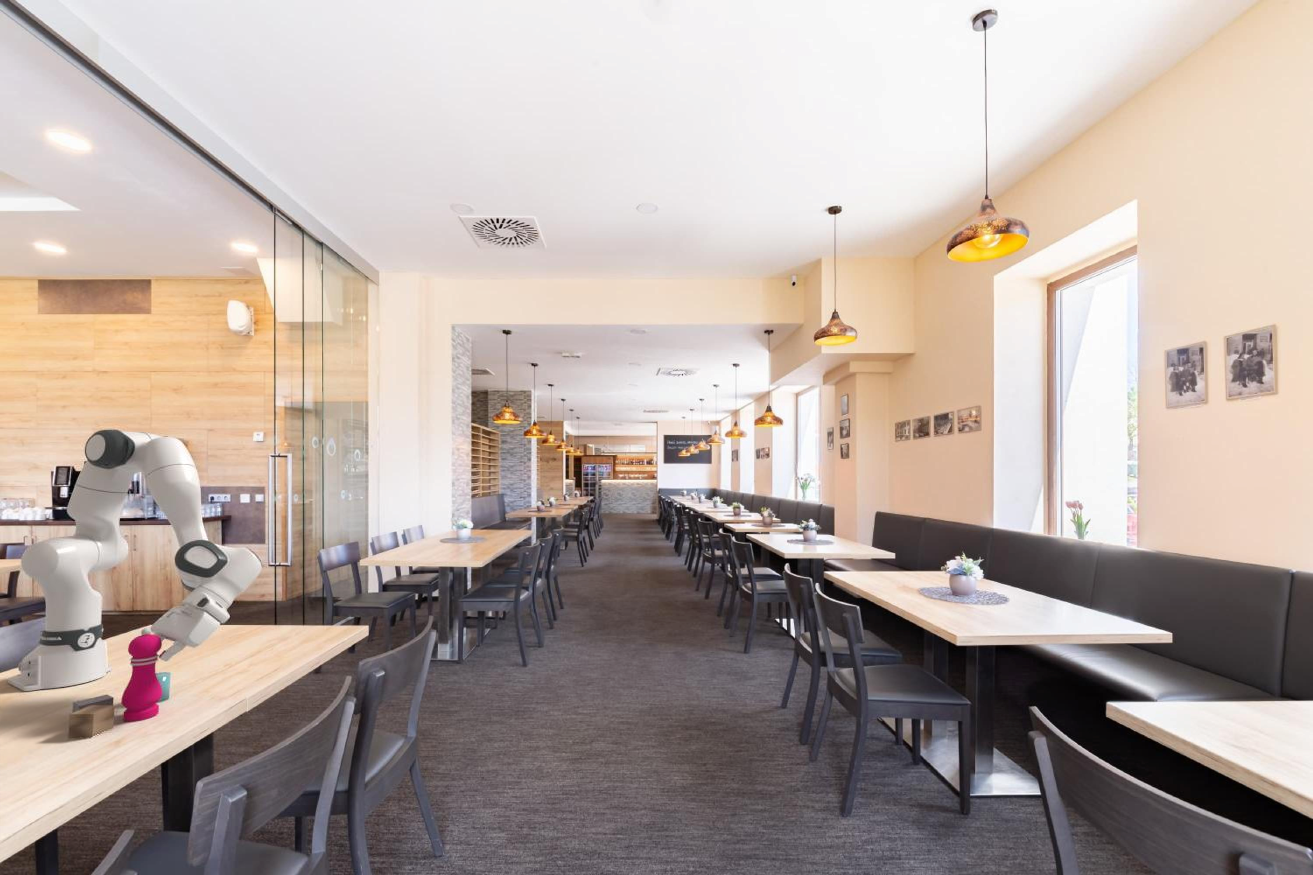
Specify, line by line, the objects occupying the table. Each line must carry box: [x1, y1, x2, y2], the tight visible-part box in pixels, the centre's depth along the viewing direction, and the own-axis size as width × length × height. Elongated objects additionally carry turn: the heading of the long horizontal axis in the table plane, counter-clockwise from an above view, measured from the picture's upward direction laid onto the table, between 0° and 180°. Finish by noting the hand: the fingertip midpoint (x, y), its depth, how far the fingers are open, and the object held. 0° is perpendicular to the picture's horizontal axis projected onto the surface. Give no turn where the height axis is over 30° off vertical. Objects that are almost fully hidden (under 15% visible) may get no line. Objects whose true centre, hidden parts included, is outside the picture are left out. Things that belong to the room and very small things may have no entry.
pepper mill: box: [120, 627, 163, 723], centre depth 140 cm, size 7×7×20 cm
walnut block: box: [67, 704, 115, 739], centre depth 130 cm, size 5×5×5 cm
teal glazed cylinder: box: [155, 671, 172, 704], centre depth 149 cm, size 5×5×6 cm
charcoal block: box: [71, 693, 115, 713], centre depth 139 cm, size 4×6×4 cm, turn 149°
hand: (153, 656), depth 141 cm, fingers open, 8 cm apart
